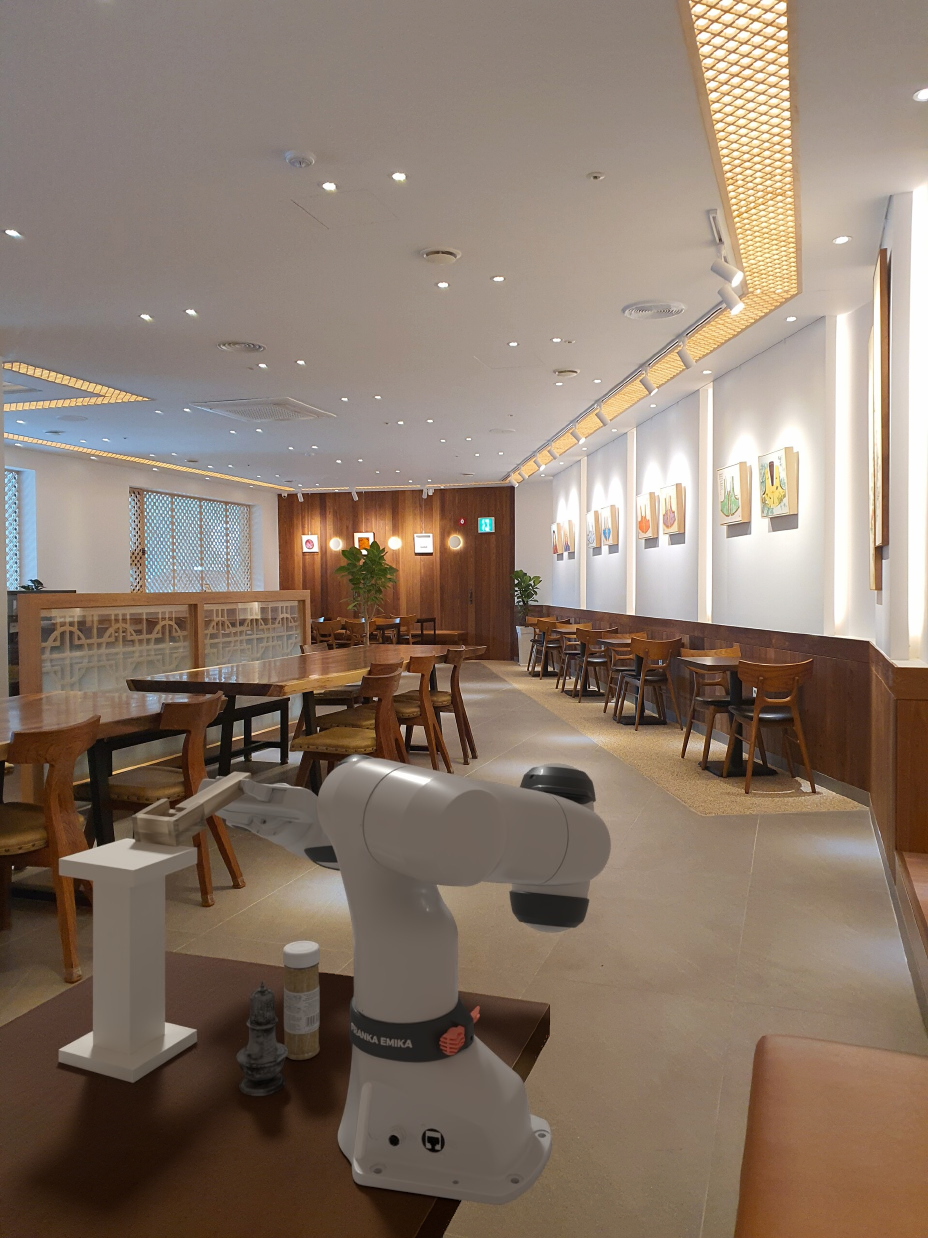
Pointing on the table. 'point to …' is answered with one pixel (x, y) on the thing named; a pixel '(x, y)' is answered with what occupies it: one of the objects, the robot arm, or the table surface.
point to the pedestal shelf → (128, 958)
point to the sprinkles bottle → (301, 999)
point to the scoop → (185, 813)
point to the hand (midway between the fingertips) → (230, 782)
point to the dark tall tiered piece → (262, 1048)
